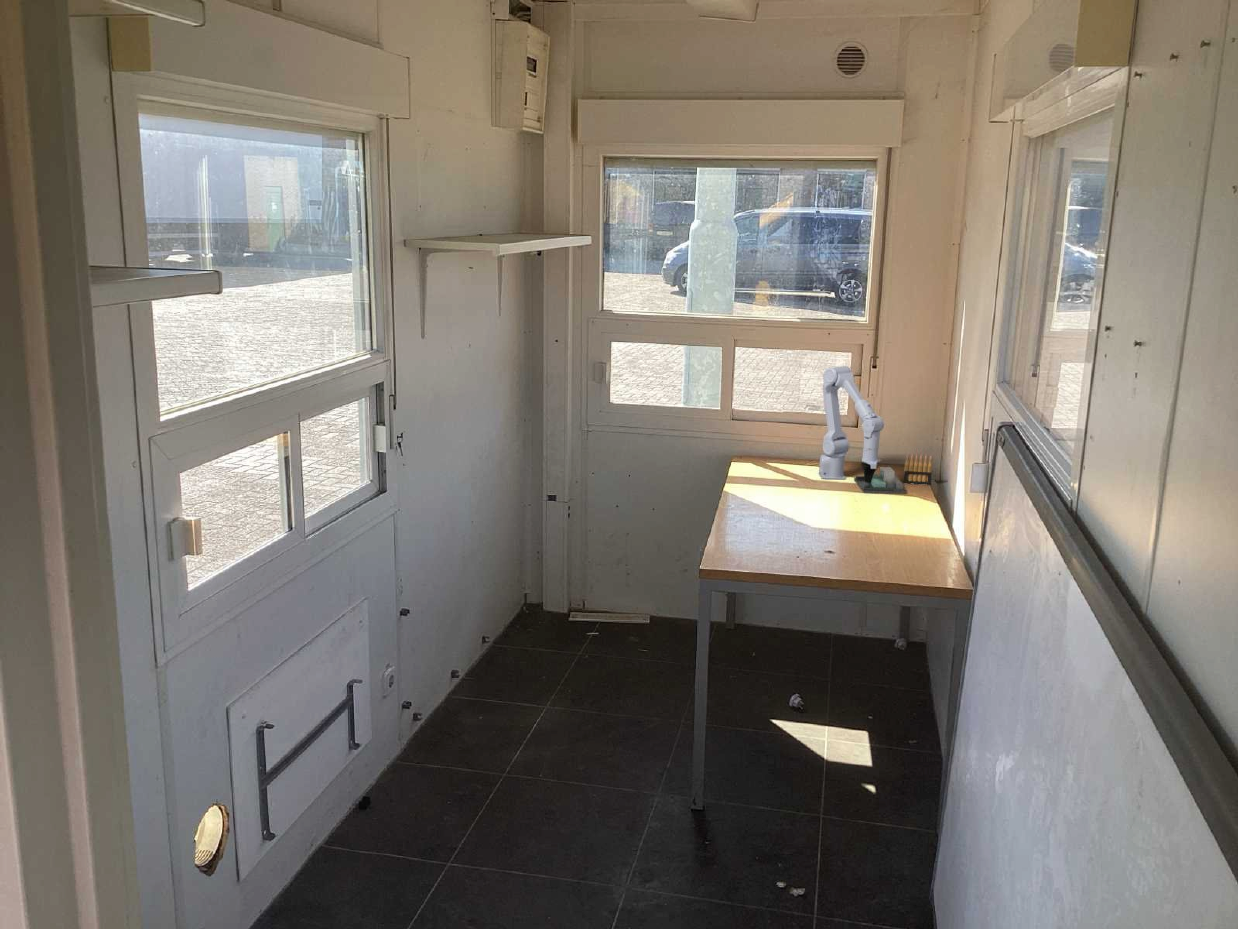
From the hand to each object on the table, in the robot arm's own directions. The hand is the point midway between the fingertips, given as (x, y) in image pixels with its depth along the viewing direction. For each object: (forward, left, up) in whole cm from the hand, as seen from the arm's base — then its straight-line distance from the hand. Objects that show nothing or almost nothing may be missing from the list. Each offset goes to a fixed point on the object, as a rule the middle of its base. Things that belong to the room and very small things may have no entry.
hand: (867, 482), depth 417 cm
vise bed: (+5, 0, -2) cm, 5 cm away
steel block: (+7, 0, -1) cm, 7 cm away
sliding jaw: (+3, 0, -1) cm, 3 cm away
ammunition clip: (+21, +6, -2) cm, 22 cm away
